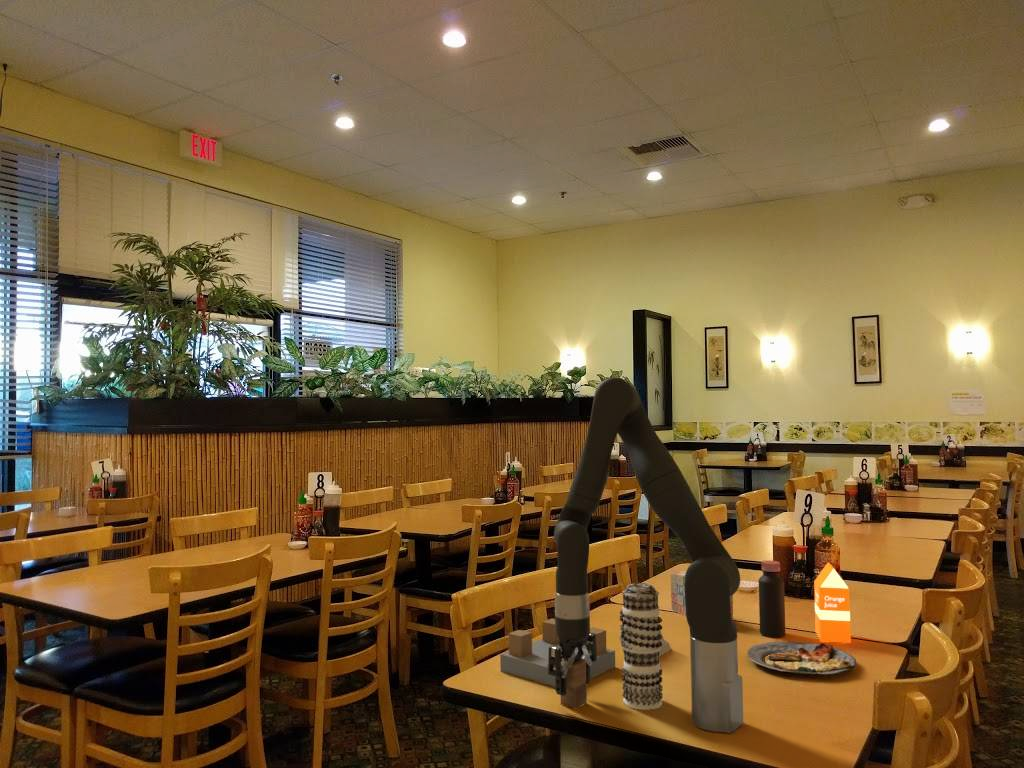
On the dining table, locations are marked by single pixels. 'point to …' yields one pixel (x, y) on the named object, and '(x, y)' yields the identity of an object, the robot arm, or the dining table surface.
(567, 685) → the stool leg
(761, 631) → the bottle
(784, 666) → the food plate
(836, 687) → the dining table surface
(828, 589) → the orange juice
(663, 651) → the hinge
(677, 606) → the printed cardboard box
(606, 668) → the stool seat
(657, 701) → the decorative candle
